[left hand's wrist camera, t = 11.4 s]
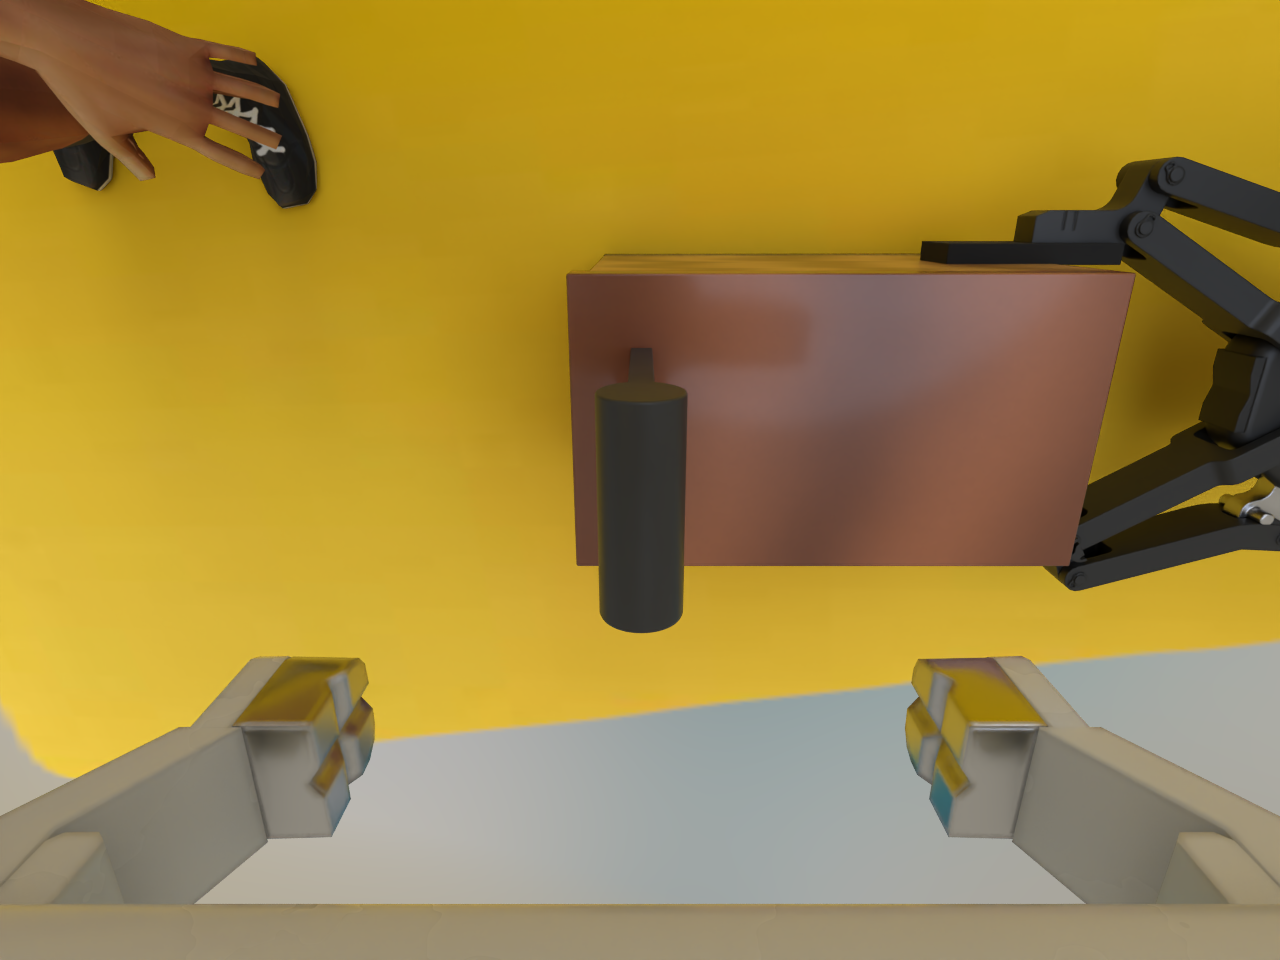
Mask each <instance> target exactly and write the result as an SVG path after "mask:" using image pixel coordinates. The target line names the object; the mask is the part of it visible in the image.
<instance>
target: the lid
mask: <svg viewBox="0 0 1280 960" xmlns="http://www.w3.org/2000/svg"><path fill="white" fill-rule="evenodd" d="M1135 276H1136V275H1135V273H1129V272H1120V271H1112V270H1048V271H571V272H569V273H568V274H567V275H566V279H567V307H568V335H569V364H570V392H571V420H572V449H573V477H574V506H575V534H576V562H577V565H578V566H599V601H600V614H601V616H602V618H603V620H604V621H605V622H606V623H607V624H609V625H610V626H612V627H614V628H616V629H619V630H622V631H626V632H632V633H650V632H657V631H661V630H664V629H667V628H669V627H671V626H672V625H674V624H675V623H677V622H678V620H679V619H680V618H681V616H682V613H683V583H684V566H1069V564H1070V559H1071V555H1072V551H1073V546H1074V542H1075V538H1076V533H1077V529H1078V525H1079V520H1080V516H1081V511H1082V507H1083V503H1084V498H1085V494H1086V490H1087V485H1088V481H1089V476H1090V472H1091V468H1092V463H1093V459H1094V455H1095V450H1096V446H1097V442H1098V437H1099V433H1100V428H1101V424H1102V420H1103V415H1104V411H1105V407H1106V402H1107V398H1108V394H1109V389H1110V385H1111V380H1112V376H1113V372H1114V367H1115V363H1116V359H1117V354H1118V350H1119V345H1120V341H1121V337H1122V332H1123V328H1124V324H1125V319H1126V315H1127V311H1128V306H1129V302H1130V297H1131V293H1132V289H1133V284H1134V280H1135Z"/></svg>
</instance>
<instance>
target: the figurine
mask: <svg viewBox="0 0 1280 960" xmlns="http://www.w3.org/2000/svg"><path fill="white" fill-rule="evenodd" d="M209 57H210V58H220V59H226V60H224V61H216V60H210V59H209ZM208 124H213V125H215V126H218V127H221V128H223V129H226V130H228V131H231V132H233V133H236V134H238V135H241V136H243V137H245V138H247V139H248V141H249V143H250V148H251V153H252V158H253V160H252V159H250V158H248V157H247V156H245V155H243V154H242V153H239V152H237V151H235V150H233V149H230V148H228V147H226V146H223V145H221V144H219V143H216V142H214V141H212V140H211V139H209V138H207V137H205V133H206V130H207V127H208ZM143 131H151V132H153V133H156V134H158V135H161V136H163V137H166V138H168V139H171V140H173V141H176V142H178V143H180V144H183V145H185V146H187V147H190V148H192V149H194V150H196V151H198V152H199V153H201V154H203V155H205V156H206V157H208V158H210V159H212V160H213V161H216V162H218V163H220V164H222V165H224V166H227V167H229V168H231V169H233V170H236V171H238V172H240V173H243V174H245V175H248V176H251V177H254V178H257V179H260V177H261V179H262V182H263V184H264V186H265V188H266V190H267V192H268V194H269V195H270V196H271V197H272V198H273V199H274V200H275V201H276V202H277V204H278V205H279V206H280V207H282V208H290V207H295V206H300V205H304V204H309V202H310V200H311V198H312V196H313V195H314V193H315V191H316V189H317V170H316V159H315V155H314V152H313V149H312V146H311V142H310V139H309V136H308V134H307V131H306V129H305V127H304V124H303V122H302V120H301V117H300V115H299V113H298V111H297V108H296V106H295V104H294V101H293V99H292V97H291V95H290V92H289V90H288V88H287V85H286V84H285V83H284V82H283V81H282V80H281V79H280V78H279V77H278V76H277V75H276V74H275V73H274V72H273V71H272V70H271V69H270V68H269V67H268V66H267V65H266V64H265V63H264V62H262V61H261V60H260V59H259V58H257V57H256V54H255V53H254V52H251V51H248V50H245V49H242V48H239V47H234V46H228V45H223V44H218V43H214V42H209V41H205V40H201V39H194V38H189V37H185V36H182V35H179V34H177V33H175V32H173V31H170V30H168V29H166V28H163V27H161V26H159V25H156V24H154V23H152V22H150V21H147V20H143V19H140V18H137V17H133V16H130V15H127V14H123V13H120V12H117V11H113V10H110V9H107V8H104V7H101V6H98V5H96V4H93V3H90V2H87V1H85V0H0V163H6V162H13V161H17V160H20V159H24V158H28V157H31V156H35V155H38V154H42V153H45V152H49V151H54V154H55V156H56V158H57V161H58V163H59V165H60V167H61V170H62V173H63V175H64V177H66V178H67V179H69V180H71V181H73V182H76V183H79V184H81V185H84V186H87V187H90V188H92V189H95V190H98V191H101V190H102V189H103V188H104V187H105V186H106V185H107V184H108V183H109V182H110V181H111V180H112V171H113V156H115V157H116V158H117V159H118V160H120V161H121V162H122V163H123V164H124V165H125V166H126V167H127V168H128V169H129V170H130V171H131V172H132V173H133V174H134V175H135V176H136V177H137V178H138V179H139V180H140V181H143V180H147V179H152V178H155V171H154V167H153V165H152V164H151V163H150V161H149V160H148V158H147V157H146V155H145V154H144V153H143V152H142V150H141V149H140V148H139V147H138V145H137V143H136V141H135V139H134V138H133V133H137V132H143Z"/></svg>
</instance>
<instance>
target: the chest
mask: <svg viewBox="0 0 1280 960" xmlns="http://www.w3.org/2000/svg"><path fill="white" fill-rule="evenodd" d="M920 255H921V254H605V255H604V257H603V258H602V259H601V260H600V261H599V262H598V263H597V264H596V265H595V266H594V267H593V268H592V269H591V270H590V271H1048V270H1103V269H1094V268H1085V267H1076V266H1067V265H1058V264H942V263H935V262H929V261H922V260H920Z"/></svg>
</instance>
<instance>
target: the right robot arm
mask: <svg viewBox="0 0 1280 960" xmlns="http://www.w3.org/2000/svg"><path fill="white" fill-rule="evenodd" d="M1116 186H1117V188H1118V189H1117V190H1116V192H1115V194H1114V196H1113V197H1112V199H1111V200H1110V201H1109V202H1108V203H1107V204H1106V205H1105V206H1104V207H1102V208H1100V209H1097V210H1041V211H1030V212H1027V213H1025V214H1022V215H1019V216H1018V219H1017V224H1016V230H1015V236H1014V241H922V247H921V255H920V260H922V261H929V262H935V263H942V264H1058V265H1120V263H1121V260H1122V261H1123V262H1125V263H1126V264H1127V265H1129V266H1130V267H1132V268H1133V269H1134V270H1136V271H1137V272H1138V273H1140V274H1141V275H1143V276H1144V277H1145V278H1147V279H1148V280H1150V281H1151V282H1152V283H1154V284H1155V285H1157V286H1158V287H1159V288H1161V289H1162V290H1164V291H1165V292H1166V293H1168V294H1169V295H1170V296H1172V297H1173V298H1175V299H1176V300H1177V301H1179V302H1180V303H1182V304H1183V305H1184V306H1186V307H1187V308H1189V309H1190V310H1191V311H1193V312H1194V313H1196V314H1197V315H1198V316H1200V317H1201V318H1202V319H1203V321H1202V322H1203V324H1205V325H1206V326H1207V327H1209V328H1210V329H1211V330H1213V331H1214V332H1216V333H1217V334H1218V335H1220V336H1221V337H1223V338H1224V339H1225V340H1227V341H1228V342H1229V343H1228V345H1227V346H1226V348H1225V349H1218V351H1217V354H1216V358H1215V362H1214V365H1213V385H1212V388H1211V389H1210V391H1209V393H1208V395H1207V397H1206V398H1205V400H1204V402H1203V405H1202V409H1201V412H1200V416H1199V419H1198V420H1201V421H1202V422H1200V423H1198V424H1196V425H1194V426H1192V427H1190V428H1188V429H1186V430H1184V431H1182V432H1180V433H1178V434H1176V435H1174V436H1173V437H1172V438H1171V443H1170V444H1169V445H1168V446H1166V447H1164V448H1162V449H1160V450H1158V451H1156V452H1154V453H1152V454H1150V455H1148V456H1146V457H1144V458H1142V459H1140V460H1138V461H1136V462H1134V463H1132V464H1130V465H1128V466H1126V467H1124V468H1122V469H1120V470H1118V471H1116V472H1114V473H1112V474H1110V475H1108V476H1106V477H1103V478H1101V479H1099V480H1097V481H1095V482H1093V483H1091V484H1089V485H1087V490H1086V494H1085V498H1084V503H1083V507H1082V511H1081V516H1080V520H1079V525H1078V529H1077V533H1076V538H1075V542H1074V546H1073V551H1072V555H1071V559H1070V564H1069V566H1043V567H1044V568H1045V569H1046V570H1047V571H1048V572H1050V573H1051V574H1052V575H1053V576H1054V577H1055V578H1057V579H1058V580H1059V581H1060V582H1061V583H1063V584H1064V585H1065V586H1066V587H1067V588H1068V589H1070V590H1073V591H1079V590H1084V589H1088V588H1092V587H1095V586H1099V585H1103V584H1107V583H1111V582H1115V581H1119V580H1123V579H1127V578H1131V577H1135V576H1139V575H1142V574H1146V573H1150V572H1154V571H1158V570H1162V569H1166V568H1170V567H1174V566H1178V565H1182V564H1186V563H1190V562H1193V561H1197V560H1201V559H1205V558H1209V557H1213V556H1217V555H1221V554H1225V553H1229V552H1233V551H1237V550H1240V549H1245V550H1267V551H1280V303H1279V302H1277V301H1275V300H1273V299H1271V298H1270V297H1268V296H1267V295H1266V294H1264V293H1263V292H1262V291H1260V290H1259V289H1258V288H1256V287H1255V286H1254V285H1252V284H1251V283H1250V282H1248V281H1247V280H1246V279H1244V278H1243V277H1242V276H1240V275H1239V274H1237V273H1236V272H1235V271H1233V270H1232V269H1231V268H1229V267H1228V266H1227V265H1225V264H1224V263H1223V262H1221V261H1220V260H1219V259H1217V258H1216V257H1215V256H1213V255H1212V254H1211V253H1209V252H1208V251H1206V250H1205V249H1204V248H1202V247H1201V246H1200V245H1198V244H1197V243H1196V242H1194V241H1193V240H1192V239H1190V238H1189V237H1188V236H1186V235H1185V234H1184V233H1182V232H1181V231H1180V230H1178V229H1177V228H1176V227H1174V226H1173V225H1171V224H1170V223H1169V222H1167V221H1166V220H1165V219H1163V218H1162V217H1161V216H1160V214H1161V212H1162V210H1163V209H1167V210H1170V211H1173V212H1176V213H1179V214H1181V215H1184V216H1187V217H1190V218H1193V219H1196V220H1198V221H1201V222H1204V223H1207V224H1210V225H1213V226H1215V227H1218V228H1221V229H1224V230H1227V231H1229V232H1232V233H1235V234H1238V235H1241V236H1244V237H1246V238H1249V239H1252V240H1255V241H1258V242H1261V243H1263V244H1267V245H1270V246H1274V247H1280V192H1277V191H1275V190H1272V189H1269V188H1266V187H1264V186H1261V185H1258V184H1255V183H1253V182H1250V181H1247V180H1244V179H1242V178H1239V177H1236V176H1233V175H1231V174H1228V173H1225V172H1222V171H1219V170H1217V169H1214V168H1211V167H1208V166H1206V165H1203V164H1200V163H1197V162H1195V161H1192V160H1189V159H1186V158H1184V157H1171V158H1162V159H1153V160H1145V161H1136V162H1131V163H1128V164H1126V165H1125V166H1124V167H1122V169H1121V170H1120V171H1119V173H1118V175H1117V179H1116ZM1253 477H1256V478H1257V479H1258V481H1257V482H1256V484H1255V485H1254V487H1253V488H1252V489H1250V490H1249V491H1247V492H1244V493H1239V494H1235V495H1233V496H1232V495H1230V494H1224V495H1222V496H1221V497H1220V499H1219V503H1209V504H1200V505H1195V506H1190V507H1186V508H1182V509H1178V510H1174V511H1171V512H1167V513H1163V514H1159V513H1161V512H1163V511H1166V510H1168V509H1170V508H1172V507H1174V506H1176V505H1178V504H1180V503H1182V502H1184V501H1186V500H1189V499H1191V498H1193V497H1195V496H1197V495H1199V494H1201V493H1203V492H1205V491H1207V490H1209V489H1211V488H1214V487H1216V486H1219V485H1235V484H1239V483H1242V482H1244V481H1246V480H1249V479H1251V478H1253ZM1157 514H1159V515H1157Z"/></svg>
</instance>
